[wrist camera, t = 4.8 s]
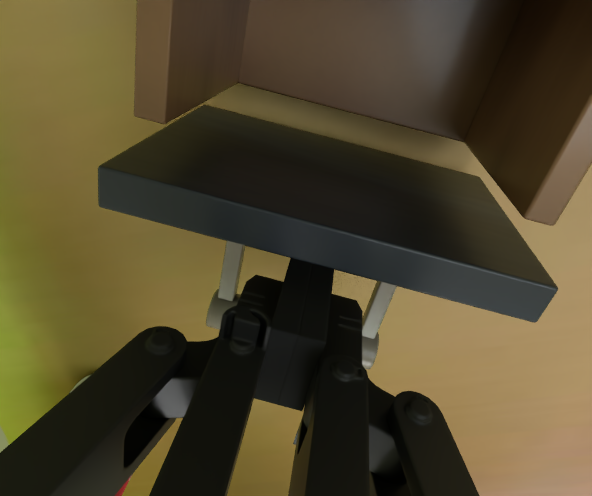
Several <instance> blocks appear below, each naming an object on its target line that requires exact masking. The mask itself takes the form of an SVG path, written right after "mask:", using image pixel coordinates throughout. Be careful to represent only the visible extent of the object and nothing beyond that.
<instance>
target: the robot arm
mask: <svg viewBox="0 0 592 496" xmlns="http://www.w3.org/2000/svg"><path fill="white" fill-rule="evenodd" d="M333 275H334V269H331V268H327V267H324V266H320V265H316V264H312V263H309V262H305V261H301V260H297V259H294V258H291V259H290V262H289V266H288V269H287V273H286V276H285V279H284V282H281V281H278V280H274V279H270V278H267V277H263V276H259V275H255V276H254V277H252V278H251V279H249V280H248V281H247V282H246V284H245V287H244V289H243V292H242V294H241V296H240V298H239V301H238V303H237V305H236V306H233V307H231V308H229V309H227V310H226V311H225V312H224V314H223V315H222V320H221V326H220V332H219V337H217V338H215V339H213V340H209V341H201V342H187V340H186V339H185V337H184V335H183V334H182V333H181V332H179V331H178V330H176V329H173V328H170V327H162V326H157V327H152V328H148V329H146V330H144V331H143V332H141V333H139V334H138V335H137V336H136V337H135V338H133V339H132V340H131V341H130V342H129V343H128V344H126V345H125V346H124V347H123V348H122V349H121V350H119V351H118V352H117V353H116V354H115V355H114V356H112V357H111V358H110V359H109V360H108V361H107V362H105V363H104V364H103V365H102V366H101V367H100V368H98V369H97V370H96V371H95V372H94V373H93V374H91V375H90V376H89V377H88V378H87V379H86V380H84V381H83V382H82V383H81V384H80V385H79V386H77V387H76V388H75V389H74V390H73V391H72V392H70V393H69V394H68V395H67V396H66V397H65V398H63V399H62V400H61V401H60V402H59V403H58V404H56V405H55V406H54V407H53V408H52V409H51V410H49V411H48V412H47V413H46V414H45V415H44V416H42V417H41V418H40V419H39V420H38V421H37V422H35V423H34V424H33V425H32V426H31V427H30V428H28V429H27V430H26V431H25V432H24V433H23V434H22V435H20V436H19V437H18V438H17V439H16V440H15V441H13V442H12V443H11V444H10V445H9V446H8V447H7V448H5V449H4V450H3V451H2V452H1V453H0V496H115V495H116V494H117V493H118V491H119V490H120V489H121V488H122V486H123V485H124V484H125V483H126V481H127V480H128V479H129V478H130V476H131V475H132V474H133V473H134V471H135V470H136V469H137V468H138V466H139V465H140V464H141V463H142V461H143V460H144V459H145V458H146V456H147V455H148V454H149V453H150V451H151V450H152V449H153V448H154V446H155V445H156V444H157V443H158V441H159V440H160V439H161V438H162V436H163V435H164V434H165V433H166V431H167V430H168V429H169V428H170V426H171V425H172V424H173V423H174V421H175V420H176V418H183V420H182V422H181V424H180V427H179V429H178V431H177V433H176V436H175V438H174V440H173V443H172V445H171V447H170V449H169V452H168V454H167V456H166V458H165V461H164V463H163V465H162V468H161V470H160V472H159V474H158V477H157V479H156V481H155V484H154V486H153V488H152V490H151V493H150V495H149V496H227V493H228V489H229V486H230V482H231V479H232V475H233V471H234V468H235V464H236V461H237V457H238V454H239V450H240V446H241V443H242V439H243V436H244V432H245V428H246V425H247V421H248V418H249V414H250V410H251V406H252V402H253V399H254V398H255V399H259V400H263V401H266V402H270V403H274V404H278V405H281V406H285V407H289V408H292V409H296V410H300V411H303V408H304V414H303V417H302V420H301V423H300V426H299V429H298V431H297V434H296V437H295V440H294V443H293V444H295V445H296V450H295V456H294V462H293V469H292V475H291V481H290V488H289V494H288V496H479V494H478V492H477V490H476V487H475V485H474V483H473V481H472V478H471V476H470V474H469V472H468V470H467V467H466V465H465V463H464V461H463V459H462V456H461V454H460V452H459V450H458V447H457V445H456V443H455V441H454V439H453V436H452V434H451V432H450V430H449V428H448V425H447V423H446V421H445V419H444V417H443V414H442V413H441V411H440V409H439V408H438V406H437V405H436V404H435V403H434V402H433V401H431V400H430V399H429V398H428V397H426V396H424V395H422V394H420V393H417V392H413V391H405V392H401V393H400V394H398V395H397V396H396V397H394V396H393V395H391V394H389V393H387V392H385V391H384V390H382V389H380V388H379V387H377V386H376V385H375V384H374V383H372V382H371V381H370V380H369V378H368V375H367V371H366V370H365V368H364V367H363V364H362V310H361V308H360V306H359V304H358V302H357V301H356V300H353V299H349V298H345V297H342V296H338V295H334V294H331V293H332V284H333ZM304 405H305V407H304Z"/></svg>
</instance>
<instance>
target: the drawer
mask: <svg viewBox="0 0 592 496" xmlns="http://www.w3.org/2000/svg"><path fill="white" fill-rule="evenodd" d="M237 83H241V84H244V85H248V86H252V87H256V88H260V89H263V90H267V91H271V92H275V93H279V94H282V95H286V96H290V97H294V98H298V99H302V100H305V101H309V102H313V103H317V104H321V105H324V106H328V107H332V108H336V109H340V110H343V111H347V112H351V113H355V114H359V115H362V116H366V117H370V118H374V119H378V120H382V121H385V122H389V123H393V124H397V125H401V126H404V127H408V128H412V129H416V130H420V131H423V132H427V133H431V134H435V135H439V136H442V137H446V138H450V139H454V140H458V141H461V142H464V143H465V144H466V145H467V146H468V148H469V149H470V150H471V151H472V153H473V154H474V155H475V157H476V158H477V159H478V160H479V162H480V163H481V164H482V165H483V167H484V168H485V169H486V171H487V172H488V173H489V174H490V176H491V177H492V178H493V180H494V181H495V182H496V183H497V185H498V186H499V187H500V188H501V190H502V191H503V192H504V194H505V195H506V196H507V197H508V199H509V200H510V201H511V202H512V204H513V205H514V206H515V208H516V209H517V210H518V211H519V213H520V214H521V215H522V216H523V217H524V218H525V219H528V220H531V221H535V222H539V223H543V224H547V225H554V224H556V222H557V220H558V219H559V217H560V215H561V214H562V212H563V210H564V209H565V207H566V205H567V204H568V202H569V200H570V199H571V197H572V195H573V194H574V192H575V190H576V189H577V187H578V185H579V184H580V182H581V181H582V179H583V177H584V176H585V174H586V172H587V171H588V169H589V167H590V166H591V164H592V0H137V20H136V55H135V91H134V116H135V117H139V118H143V119H146V120H150V121H154V122H158V123H161V124H166V123H167V122H169V121H171V120H173V119H175V118H176V117H178V116H180V115H182V114H183V113H185V112H187V111H189V110H191V109H192V108H194V107H196V106H198V105H199V104H201V103H203V102H205V101H207V100H208V99H210V98H212V97H214V96H215V95H217V94H219V93H221V92H223V91H224V90H226V89H228V88H230V87H231V86H233V85H235V84H237ZM98 201H99V206H100V207H102V208H106V209H110V210H113V211H117V212H121V213H125V214H128V215H132V216H136V217H140V218H143V219H147V220H151V221H155V222H158V223H162V224H166V225H170V226H173V227H177V228H181V229H185V230H188V231H192V232H196V233H200V234H203V235H207V236H211V237H215V238H218V239H222V240H226V241H227V243H226V249H225V255H224V261H223V267H222V273H221V280H220V286H219V289H217V290H216V292H215V293H214V295H213V297H212V300H211V303H210V306H209V309H208V313H207V319H206V325H207V326H208V327H212V328H215V329H219V330H220V326H221V320H222V315H223V314H224V312H225V311H226V310H227V309H229V308H231V307H233V306H236V305H237V303H238V301H239V298H240V296H241V295H240V294H236V293H237V288H238V282H239V277H240V272H241V267H242V261H243V256H244V251H245V246H249V247H252V248H256V249H260V250H264V251H267V252H271V253H275V254H279V255H282V256H286V257H290V258H294V259H297V260H301V261H305V262H309V263H312V264H316V265H320V266H324V267H327V268H331V269H335V270H339V271H342V272H346V273H350V274H354V275H357V276H361V277H365V278H369V279H372V280H376V281H377V283H376V285H375V288H374V290H373V293H372V295H371V298H370V301H369V303H368V306H367V308H366V311H365V313H364V316H363V318H362V364H363V367H364V368H365V369H370V368H371V367H372V365H373V363H374V361H375V358H376V355H377V350H378V344H379V334H378V329H379V327H380V325H381V322H382V320H383V318H384V315H385V313H386V311H387V308H388V306H389V303H390V301H391V299H392V296H393V294H394V292H395V289H396V287H397V286H399V287H403V288H406V289H410V290H414V291H418V292H421V293H425V294H429V295H433V296H436V297H440V298H444V299H448V300H451V301H455V302H459V303H463V304H466V305H470V306H474V307H478V308H481V309H485V310H489V311H493V312H496V313H500V314H504V315H508V316H511V317H515V318H519V319H523V320H527V321H530V322H537V321H538V319H539V318H540V316H541V315H542V313H543V312H544V310H545V309H546V307H547V306H548V304H549V303H550V301H551V300H552V298H553V297H554V295H555V294H556V292H557V290H558V287H557V286H556V284H555V283H554V281H553V280H552V279H551V277H550V276H549V274H548V273H547V272H546V270H545V269H544V267H543V266H542V265H541V263H540V262H539V260H538V259H537V257H536V256H535V255H534V253H533V252H532V250H531V249H530V248H529V246H528V245H527V243H526V242H525V241H524V239H523V238H522V236H521V235H520V234H519V232H518V231H517V229H516V228H515V227H514V225H513V224H512V222H511V221H510V219H509V218H508V217H507V215H506V214H505V212H504V211H503V210H502V208H501V207H500V205H499V204H498V203H497V201H496V200H495V198H494V197H493V196H492V194H491V193H490V191H489V190H488V188H487V187H486V186H485V184H484V183H483V181H482V180H481V179H480V177H477V176H474V175H470V174H466V173H462V172H458V171H455V170H451V169H447V168H443V167H439V166H436V165H432V164H428V163H424V162H420V161H417V160H413V159H409V158H405V157H401V156H398V155H394V154H390V153H386V152H382V151H379V150H375V149H371V148H367V147H363V146H360V145H356V144H352V143H348V142H344V141H341V140H337V139H333V138H329V137H325V136H322V135H318V134H314V133H310V132H306V131H303V130H299V129H295V128H291V127H287V126H284V125H280V124H276V123H272V122H268V121H265V120H261V119H257V118H253V117H250V116H246V115H242V114H238V113H234V112H231V111H227V110H223V109H219V108H215V107H212V106H208V105H203V106H201V107H200V108H198V109H196V110H194V111H193V112H191V113H189V114H187V115H186V116H184V117H182V118H181V119H179V120H177V121H175V122H174V123H172V124H170V125H169V126H167V127H165V128H163V129H162V130H160V131H158V132H157V133H155V134H153V135H151V136H150V137H148V138H146V139H144V140H143V141H141V142H139V143H138V144H136V145H134V146H132V147H131V148H129V149H127V150H126V151H124V152H122V153H120V154H119V155H117V156H115V157H114V158H112V159H110V160H108V161H107V162H105V163H103V164H101V165H100V166H99V167H98Z"/></svg>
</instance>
